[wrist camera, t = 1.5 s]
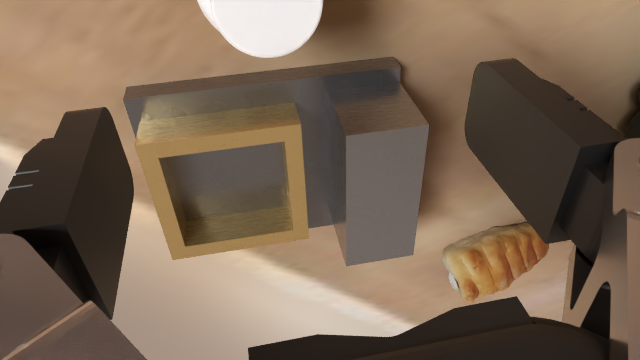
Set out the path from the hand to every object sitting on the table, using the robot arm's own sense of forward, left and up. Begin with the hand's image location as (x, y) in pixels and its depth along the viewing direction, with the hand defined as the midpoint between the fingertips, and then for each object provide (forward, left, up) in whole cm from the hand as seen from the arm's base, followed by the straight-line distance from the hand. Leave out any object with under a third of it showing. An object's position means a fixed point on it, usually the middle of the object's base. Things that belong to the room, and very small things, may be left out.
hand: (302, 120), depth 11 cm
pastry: (-18, +27, -18) cm, 37 cm away
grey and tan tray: (0, +13, -18) cm, 22 cm away
